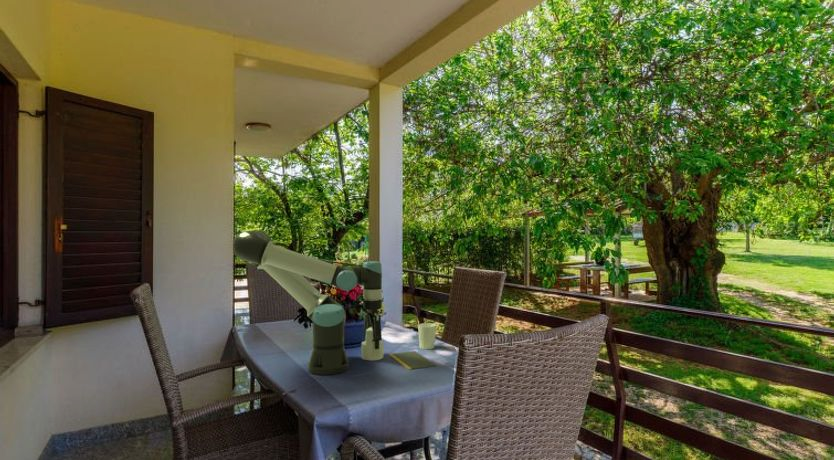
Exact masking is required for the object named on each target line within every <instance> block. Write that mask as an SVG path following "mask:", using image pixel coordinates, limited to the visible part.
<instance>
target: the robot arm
mask: <svg viewBox="0 0 834 460" xmlns="http://www.w3.org/2000/svg"><path fill="white" fill-rule="evenodd" d="M232 250H233V253H234V255H235V256H236V257H237V258H238V259H240V260H242V261H244V262H247V263H248V262H249V263H250V264H252V265H253V266H254V267H255V268H256V269H257V270H264V271H265V272H266V273H267V274H268V275H269V276H270V277H272V279H274V280H275V281H276V282H277V284H279V286H281V288H282V289H284V290H286V292H287V293H288V294H289V295H290V296H291V297H292V298H293V299H295V300H296V301H297V303H299V304H300V305H301V307H303V308H304V309H305V311H306V313H307V314H306V316H307V317H308V318H309V319H310V320H311V321H312V349H311V353H310V357H309V360H308V363H307V370H308V372H309V373H311V374H314V375H320V376H321V375H322V376H323V375H324V376H325V375H326V376H328V375H336V374H340V373H341V374H342V373H344V372H345V371H347V370H348V369H349V368H350V367H349V359H348V355H347V353H346V350H345V324H346V321H347V314H346V310H345V308H344V306H343V305H341V303H339V302H337V301H335V300H334V299H333V298H332V297H331V296H330V295H328V294H322V293H321V292H320V291H319V290H318V289H317V288H316V287H315V286H314V285H313V284H312V283H311V282H310V281H308V279H306V278H309V279H313V280H316V281H319V282H322V283H325V284H328V285H331V286H333V287H337V288H339V290H343V291H345V292H346V291H347V292H348V291H351V290H352V289H354V288H355V287H356V286H362V285H363V288H362V289H363V291H362V293H363V294H362V296H363V297H362V298H363V300H362V301H363V305H362V306H363V307H362V308H363V309H364V323H363V324H364V325H363V332H364V335H365V336H366V330H367V329H368V328H370V327H371V326H372V330H373V340H372V341H373V357H380V341H382V340H383V337H382V324H381V317H382V315H381V314H379V312H378V310H381V309H382V307H383V306H382V305H383V303H382V302H383V300H382V296H383V295H382V293H383V289H382V287H383V286H382V285H383V284H382V282H383V281H382V279H383V276H382V275H383V272H382V263H381V262H380V261H374V260H373V261H372V260H370V261H364V262H363V265H362V266H361V265H360V266H344V265H343V266H338V265H336V264H332V263H330V262H326V261H323V260H321V259H319V258H315V257H311V256H308V255H305V254H303V253H300V252H296V251H293V250H290V249H287V248H284V247H282V246H280V245H279V246H278V245H277V244H276V243H275V242H273V239H272V238H271V236H270V235H269V234H268V233H267V232H265V231H263V230H261V229H260V230H259V229H252V230H246V231H242V232H240V233H238V235H237V236H236V237H235V238H234V240H233V242H232ZM305 277H306V278H305Z"/></svg>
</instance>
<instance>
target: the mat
mask: <svg viewBox="0 0 834 460" xmlns="http://www.w3.org/2000/svg"><path fill="white" fill-rule="evenodd" d="M389 356H390V357H391V358H393V359H394V360H395V361H397V362H398V364H400V365H401V366H403V367H404V368H405V369H407V371H408V370H410V371H411V370H416V369H417V370H418V369H423V368H424V369H425V368H431V367H432V368H433V367H436V366H437V365H436V364H435V363H434V362H432V361H431V360H429V359H428V358H426V357H425V356H424V355H421V354H420V353H419V352H417V351H415V350H413V351H405V352H398V353H397V352H395V353H389Z"/></svg>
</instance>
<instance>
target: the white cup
mask: <svg viewBox="0 0 834 460" xmlns="http://www.w3.org/2000/svg"><path fill="white" fill-rule="evenodd" d="M417 326H418V331H417V332H418V333H417V334H418V342H419V343H418V344H419V349H421V350H432V349H434V348H435V342H436V332H437V331H436V330H437V329H436V328H437V327H436V324H435V323H430V322H429V323H428V322H427V323H426V322H425V323H423V322H422V323H419V324H417Z"/></svg>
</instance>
